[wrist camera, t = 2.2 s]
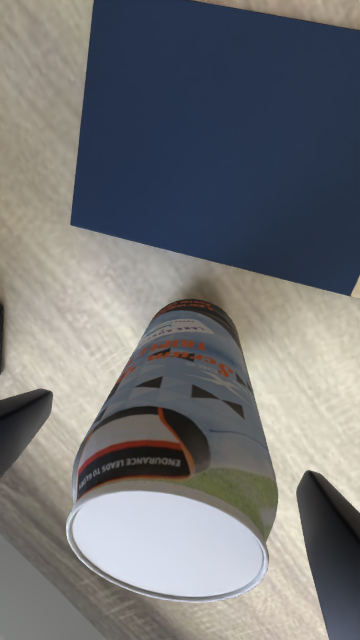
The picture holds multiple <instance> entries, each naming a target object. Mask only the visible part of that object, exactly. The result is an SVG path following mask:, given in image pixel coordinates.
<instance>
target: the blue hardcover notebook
mask: <svg viewBox="0 0 360 640" xmlns="http://www.w3.org/2000/svg"><path fill="white" fill-rule="evenodd" d="M70 225H72V226H76V227H80V228H84V229H88V230H91V231H95V232H99V233H103V234H107V235H111V236H115V237H119V238H123V239H127V240H131V241H135V242H139V243H143V244H147V245H150V246H154V247H158V248H162V249H166V250H170V251H174V252H178V253H182V254H186V255H190V256H194V257H198V258H202V259H205V260H209V261H213V262H217V263H221V264H225V265H229V266H233V267H237V268H241V269H245V270H249V271H253V272H257V273H261V274H264V275H268V276H272V277H276V278H280V279H284V280H288V281H292V282H296V283H300V284H304V285H308V286H312V287H316V288H319V289H323V290H327V291H331V292H335V293H339V294H343V295H347V296H351V297H355V298H359V299H360V30H355V29H349V28H343V27H338V26H332V25H326V24H321V23H315V22H310V21H304V20H298V19H293V18H287V17H281V16H276V15H270V14H265V13H259V12H253V11H248V10H242V9H236V8H231V7H225V6H220V5H214V4H208V3H203V2H197V1H191V0H94V4H93V14H92V23H91V33H90V42H89V52H88V61H87V71H86V80H85V90H84V99H83V109H82V118H81V128H80V137H79V147H78V156H77V166H76V175H75V185H74V194H73V204H72V213H71V223H70Z"/></svg>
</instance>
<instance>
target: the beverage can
mask: <svg viewBox="0 0 360 640" xmlns="http://www.w3.org/2000/svg"><path fill="white" fill-rule="evenodd" d="M72 491H73V501H74V507H73V509H72V511H71V513H70V515H69V517H68V519H67V526H66V533H67V538H68V542H69V544H70V546H71V548H72V550H73V551H74V552H75V554H76V555H77V556H78V558H79V559H80V560H81V561H82V562H83V563H84V564H85V565H86V566H88V567H89V568H90V569H91V570H93V571H94V572H96V573H97V574H98V575H100V576H102V577H103V578H105V579H107V580H108V581H110V582H112V583H114V584H117V585H119V586H121V587H123V588H126V589H128V590H131V591H134V592H136V593H140V594H143V595H147V596H150V597H155V598H160V599H164V600H171V601H179V602H212V601H220V600H225V599H229V598H233V597H236V596H239V595H241V594H244V593H246V592H248V591H250V590H251V589H253V588H254V587H256V586H257V585H258V584H259V583H260V582H261V581H262V580H263V578H264V576H265V574H266V572H267V570H268V563H269V554H268V550H267V545H266V541H267V538H268V536H269V534H270V531H271V529H272V526H273V523H274V521H275V517H276V512H277V504H278V489H277V483H276V477H275V473H274V469H273V465H272V462H271V458H270V454H269V450H268V446H267V443H266V439H265V435H264V431H263V427H262V424H261V420H260V416H259V412H258V409H257V405H256V401H255V397H254V393H253V390H252V386H251V382H250V378H249V374H248V371H247V367H246V363H245V359H244V355H243V352H242V348H241V344H240V340H239V337H238V333H237V330H236V327H235V325H234V323H233V321H232V320H231V318H230V317H229V316H228V315H227V314H226V313H225V312H224V311H223V310H222V309H220V308H219V307H218V306H216V305H214V304H212V303H210V302H206V301H203V300H197V299H184V300H180V301H175V302H173V303H171V304H168V305H167V306H165V307H164V308H162V309H161V310H160V311H159V312H158V313H157V314H156V315H155V316H154V318H153V319H152V321H151V322H150V324H149V326H148V328H147V329H146V331H145V333H144V335H143V336H142V338H141V340H140V342H139V343H138V345H137V347H136V349H135V350H134V352H133V354H132V356H131V357H130V359H129V361H128V363H127V364H126V366H125V368H124V370H123V371H122V373H121V375H120V377H119V379H118V380H117V382H116V384H115V386H114V387H113V389H112V391H111V393H110V394H109V396H108V398H107V400H106V401H105V403H104V405H103V407H102V408H101V410H100V412H99V414H98V415H97V417H96V419H95V421H94V422H93V424H92V426H91V428H90V430H89V431H88V433H87V435H86V437H85V438H84V440H83V442H82V444H81V446H80V448H79V450H78V453H77V455H76V458H75V461H74V466H73V475H72Z"/></svg>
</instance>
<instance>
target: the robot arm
mask: <svg viewBox="0 0 360 640" xmlns="http://www.w3.org/2000/svg"><path fill="white" fill-rule="evenodd" d="M2 332H3V307H2V305H1V304H0V375H1V362H2ZM52 399H53V393H52V392H51V391H49V390H46V389H37V390H33V391H30V392H27V393H23V394H20V395H16V396H13V397H10V398H6V399H3V400H0V478H1V477H2V475H3V474H4V473H5V472H6V471H7V470H8V469H9V468H10V467H11V465H12V464H13V463H14V462H15V461H16V460H17V458H18V457H19V456H20V455H21V453H22V452H23V451H24V449H25V448H26V447H27V445H28V444H29V443H30V441H31V440H32V439H33V437H34V436H35V435H36V433H37V432H38V431H39V429H40V428H41V427H42V425H43V424H44V423H45V421H46V420H47V419H48V417H49V415H50V413H51V408H52ZM296 495H297V502H298V507H299V513H300V519H301V524H302V530H303V536H304V541H305V547H306V552H307V556H308V560H309V564H310V568H311V572H312V576H313V580H314V583H315V587H316V591H317V595H318V599H319V603H320V606H321V610H322V614H323V618H324V622H325V625H326V629H327V633H328V637H329V640H360V513H359V512H358V511H357V510H356V509H355V508H354V507H353V506H352V505H351V504H350V503H349V502H348V501H347V500H346V499H345V498H344V497H343V496H342V495H341V494H340V493H339V492H338V491H337V490H336V489H335V488H334V487H333V486H332V485H331V484H330V483H329V482H328V481H327V479H326V478H325V477H324V476H322V475H321V474H320V473H317V472H313V471H310V470H307V471H306V472H305V473H304V475H303V477H302V479H301V481H300V483H299V485H298V487H297V492H296Z"/></svg>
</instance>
